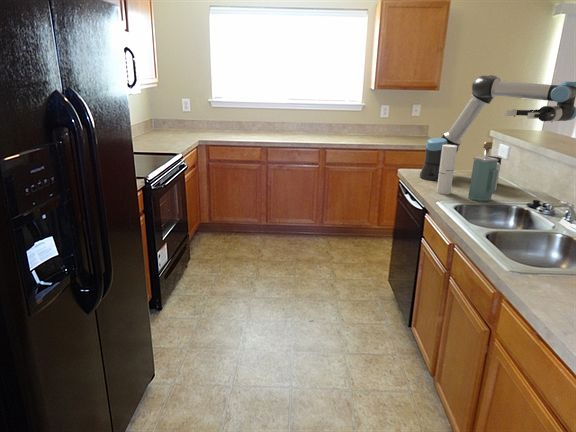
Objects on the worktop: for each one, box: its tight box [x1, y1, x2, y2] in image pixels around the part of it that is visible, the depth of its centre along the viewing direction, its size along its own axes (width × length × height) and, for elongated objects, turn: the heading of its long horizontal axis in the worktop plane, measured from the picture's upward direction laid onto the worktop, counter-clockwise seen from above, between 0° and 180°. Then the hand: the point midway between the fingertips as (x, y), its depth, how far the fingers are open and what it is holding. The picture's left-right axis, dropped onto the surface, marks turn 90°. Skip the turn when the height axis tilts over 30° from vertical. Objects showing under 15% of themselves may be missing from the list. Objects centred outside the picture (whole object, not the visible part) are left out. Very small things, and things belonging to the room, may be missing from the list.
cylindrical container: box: [436, 145, 458, 195], centre depth 229 cm, size 7×7×25 cm
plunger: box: [483, 141, 494, 159], centre depth 217 cm, size 7×7×25 cm
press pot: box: [467, 156, 499, 203], centre depth 217 cm, size 13×11×21 cm
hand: (516, 114), depth 213 cm, fingers open, 13 cm apart
